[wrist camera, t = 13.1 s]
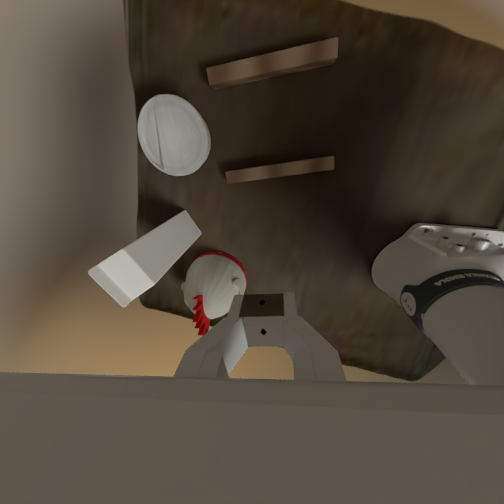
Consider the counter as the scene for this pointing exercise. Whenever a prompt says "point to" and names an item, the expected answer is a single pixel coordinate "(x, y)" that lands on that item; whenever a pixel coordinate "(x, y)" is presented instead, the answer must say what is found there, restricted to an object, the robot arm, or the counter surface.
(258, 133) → the counter surface
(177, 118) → the ramekin
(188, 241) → the milk
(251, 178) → the parallel wooden rails
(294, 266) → the counter surface
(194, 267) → the kitchen timer
